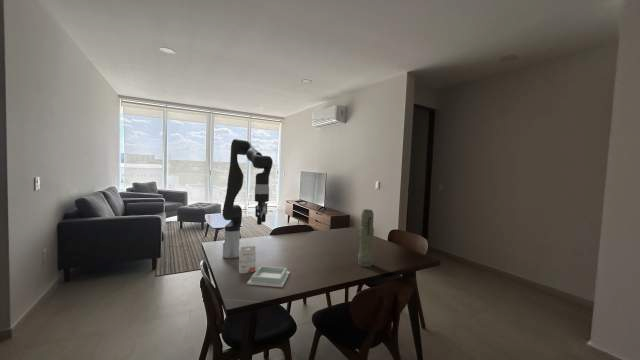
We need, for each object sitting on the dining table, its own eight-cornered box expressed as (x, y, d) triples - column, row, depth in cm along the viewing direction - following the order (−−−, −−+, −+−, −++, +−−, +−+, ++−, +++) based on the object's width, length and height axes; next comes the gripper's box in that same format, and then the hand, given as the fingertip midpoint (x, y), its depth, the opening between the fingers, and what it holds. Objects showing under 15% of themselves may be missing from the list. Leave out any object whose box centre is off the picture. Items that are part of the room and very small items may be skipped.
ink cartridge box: (253, 268, 152) (254, 243, 152) (255, 272, 148) (256, 246, 147) (238, 270, 149) (239, 244, 148) (239, 273, 144) (240, 247, 144)
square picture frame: (247, 284, 132) (247, 277, 132) (258, 270, 150) (258, 264, 150) (282, 287, 130) (282, 280, 130) (289, 273, 148) (289, 267, 148)
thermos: (366, 260, 175) (368, 208, 173) (375, 267, 164) (378, 211, 162) (354, 261, 172) (357, 208, 170) (363, 268, 161) (366, 211, 159)
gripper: (259, 191, 149) (258, 220, 150) (250, 193, 135) (249, 225, 135) (272, 192, 149) (271, 221, 149) (264, 193, 134) (264, 226, 135)
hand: (261, 223), depth 142 cm, fingers open, 6 cm apart
